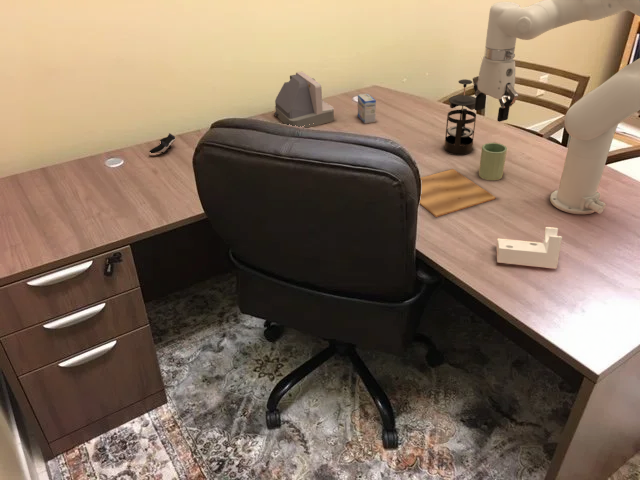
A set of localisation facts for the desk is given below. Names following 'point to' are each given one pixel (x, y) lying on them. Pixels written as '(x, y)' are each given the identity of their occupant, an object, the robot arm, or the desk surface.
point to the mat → (450, 193)
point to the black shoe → (163, 145)
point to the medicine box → (366, 108)
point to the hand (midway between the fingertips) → (490, 114)
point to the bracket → (531, 250)
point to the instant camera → (302, 102)
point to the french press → (460, 124)
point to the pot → (492, 161)
